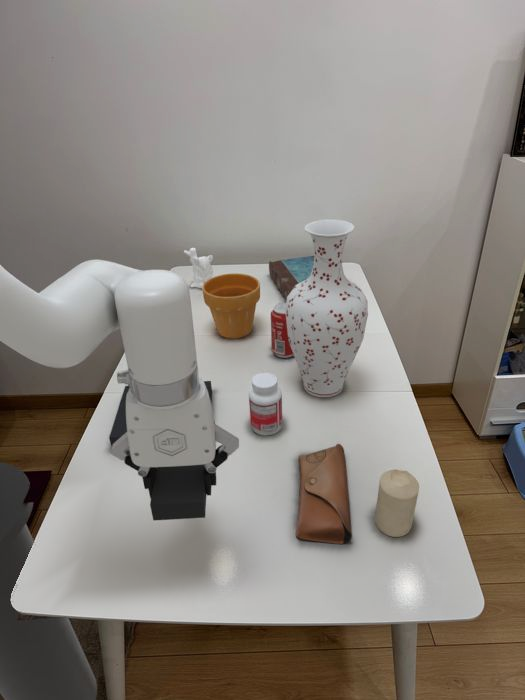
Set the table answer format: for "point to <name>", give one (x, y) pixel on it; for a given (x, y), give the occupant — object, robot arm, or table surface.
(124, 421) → the base pad
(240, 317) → the flower pot
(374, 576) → the table surface
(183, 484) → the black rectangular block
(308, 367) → the vase
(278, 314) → the beverage can
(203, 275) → the white animal figurine
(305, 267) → the book
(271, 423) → the pill bottle
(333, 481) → the sunglasses case
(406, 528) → the candle
